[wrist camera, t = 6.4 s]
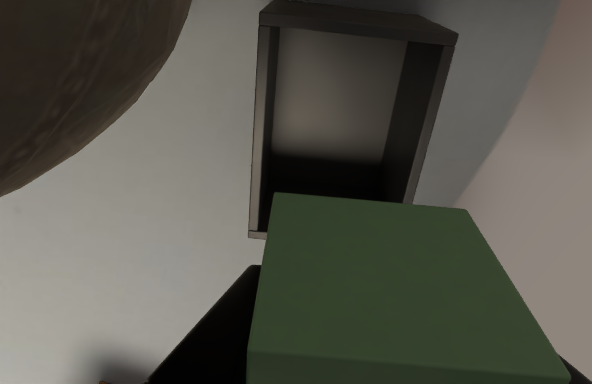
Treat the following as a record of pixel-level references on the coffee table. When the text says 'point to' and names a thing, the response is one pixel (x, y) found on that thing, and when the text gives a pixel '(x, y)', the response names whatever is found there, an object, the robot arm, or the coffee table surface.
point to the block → (388, 300)
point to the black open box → (343, 103)
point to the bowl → (74, 74)
